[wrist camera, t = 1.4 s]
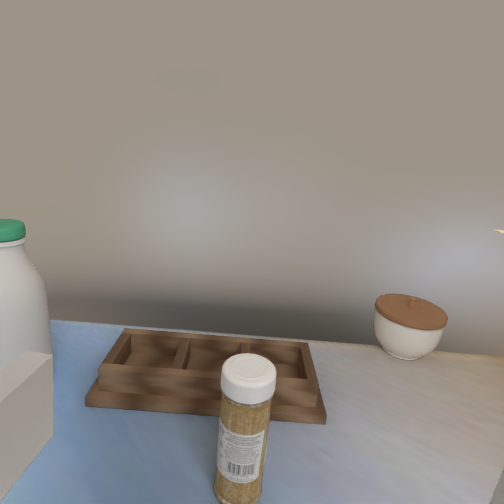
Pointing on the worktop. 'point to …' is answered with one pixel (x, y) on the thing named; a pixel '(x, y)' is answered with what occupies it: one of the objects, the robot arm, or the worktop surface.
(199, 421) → the worktop surface
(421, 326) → the lidded jar
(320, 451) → the worktop surface
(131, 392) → the wooden compartment tray
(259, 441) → the spice bottle
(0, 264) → the milk bottle
